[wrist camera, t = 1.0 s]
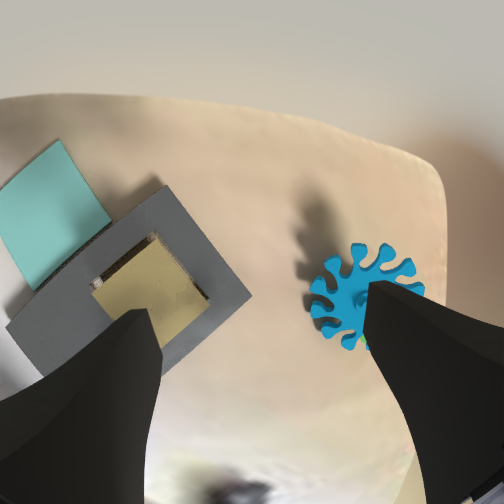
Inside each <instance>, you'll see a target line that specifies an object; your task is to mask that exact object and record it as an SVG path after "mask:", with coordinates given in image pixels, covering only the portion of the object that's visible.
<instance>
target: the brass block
mask: <svg viewBox="0 0 504 504" xmlns="http://www.w3.org/2000/svg"><path fill="white" fill-rule="evenodd" d="M92 295H93V296H94V298H95V299H96V300H97V301H98V303H99V304H100V305H101V306H102V308H103V309H104V310H105V311H106V313H107V314H108V315H109V316H110V317H111V319H112V320H113V321H116V320H117V319H118V318H119V317H120V316H122V315H123V314H124V313H126V312H127V311H129V310H130V309H143V308H147V310H148V313H149V316H150V319H151V323H152V326H153V328H154V331H155V334H156V337H157V340H158V343H159V346H160V348H162V347H163V346H164V345H166V344H167V343H168V342H169V341H170V340H171V339H173V338H174V337H175V336H176V335H177V334H178V333H179V332H181V331H182V330H183V329H184V328H185V327H186V326H187V325H189V324H190V323H191V322H192V321H193V320H194V319H195V318H197V317H198V316H199V315H200V314H201V313H202V312H203V311H205V310H206V309H207V308H208V307H209V306H210V304H209V303H208V302H207V301H206V299H205V298H204V297H203V296H202V295H201V293H200V292H199V291H198V290H197V289H196V287H195V286H194V285H193V284H192V283H191V281H190V280H189V279H188V278H187V276H186V275H185V274H184V273H183V271H182V270H181V269H180V268H179V266H178V265H177V264H176V263H175V261H174V260H173V259H172V257H171V256H170V255H169V254H168V252H167V251H166V250H165V248H164V247H163V246H162V245H161V243H160V242H159V241H158V239H156V240H154V241H153V242H152V243H151V244H149V245H148V246H147V247H146V248H144V249H143V250H142V251H141V252H140V253H138V254H137V255H136V256H135V257H134V258H132V259H131V260H130V261H129V262H128V263H126V264H125V265H124V266H123V267H122V268H120V269H119V270H118V271H117V272H116V273H115V274H113V275H112V276H111V277H110V278H109V279H108V280H106V281H105V282H104V283H103V284H102V285H101V286H100V287H99V288H97V289H96V290H95V291H94V292H93V293H92Z"/></svg>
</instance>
